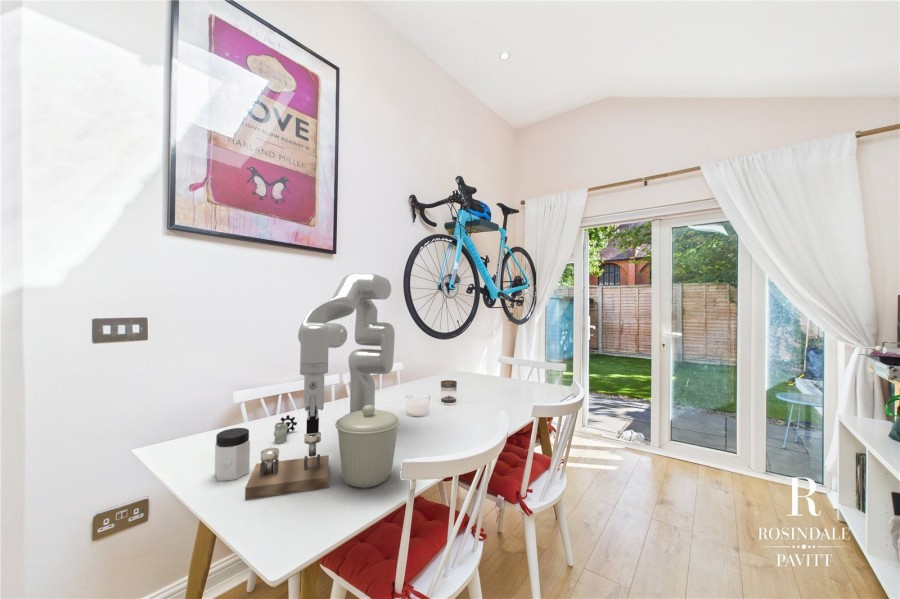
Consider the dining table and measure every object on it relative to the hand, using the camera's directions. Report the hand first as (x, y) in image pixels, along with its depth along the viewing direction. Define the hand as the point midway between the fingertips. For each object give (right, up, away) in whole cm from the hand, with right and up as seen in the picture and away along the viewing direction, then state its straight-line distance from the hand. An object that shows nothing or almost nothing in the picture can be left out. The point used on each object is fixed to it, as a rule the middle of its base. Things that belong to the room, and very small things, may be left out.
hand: (312, 432), depth 101 cm
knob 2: (0, -7, 0) cm, 7 cm away
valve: (-22, -13, +29) cm, 39 cm away
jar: (-24, -13, +1) cm, 27 cm away
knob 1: (-11, -10, -3) cm, 15 cm away
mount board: (-5, -13, -2) cm, 14 cm away
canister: (+16, -14, 0) cm, 21 cm away
